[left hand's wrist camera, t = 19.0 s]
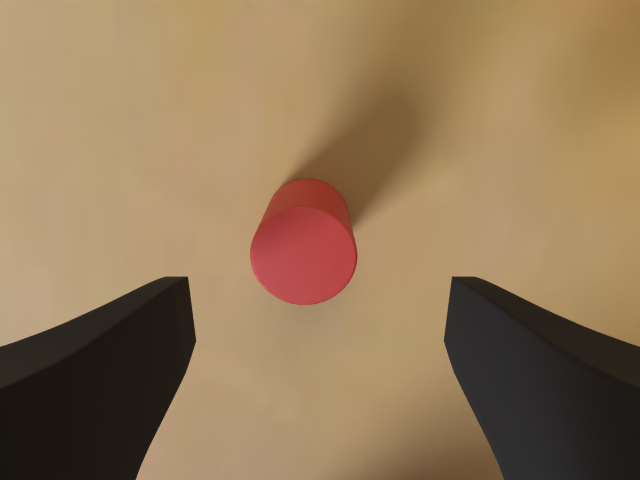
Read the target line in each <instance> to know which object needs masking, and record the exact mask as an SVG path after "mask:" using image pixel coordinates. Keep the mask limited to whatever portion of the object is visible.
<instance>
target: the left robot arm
mask: <svg viewBox="0 0 640 480" xmlns="http://www.w3.org/2000/svg"><path fill="white" fill-rule="evenodd" d="M195 343H196V336H195V328H194V320H193V313H192V305H191V297H190V289H189V281H188V277H163V278H160V279H157V280H155V281H153V282H150V283H148V284H146V285H144V286H142V287H140V288H138V289H136V290H134V291H132V292H130V293H127V294H125V295H123V296H121V297H119V298H117V299H115V300H113V301H111V302H109V303H107V304H105V305H103V306H101V307H99V308H97V309H94V310H92V311H90V312H88V313H86V314H83V315H81V316H79V317H77V318H75V319H72V320H70V321H68V322H66V323H64V324H61V325H59V326H56V327H54V328H51V329H49V330H46V331H44V332H41V333H38V334H36V335H33V336H30V337H28V338H25V339H22V340H19V341H17V342H14V343H11V344H8V345H5V346H1V347H0V480H136V477H137V474H138V472H139V469H140V466H141V464H142V462H143V459H144V457H145V455H146V453H147V450H148V448H149V446H150V444H151V442H152V440H153V438H154V436H155V434H156V432H157V430H158V428H159V426H160V424H161V422H162V420H163V418H164V416H165V414H166V412H167V410H168V408H169V406H170V404H171V402H172V400H173V398H174V396H175V394H176V392H177V390H178V388H179V386H180V384H181V382H182V379H183V377H184V375H185V373H186V371H187V368H188V365H189V362H190V359H191V356H192V353H193V349H194V346H195ZM444 343H445V346H446V349H447V353H448V356H449V359H450V362H451V365H452V368H453V371H454V373H455V375H456V377H457V380H458V382H459V384H460V386H461V388H462V390H463V392H464V394H465V396H466V398H467V400H468V402H469V404H470V406H471V408H472V410H473V412H474V414H475V416H476V418H477V420H478V422H479V424H480V426H481V428H482V430H483V432H484V434H485V436H486V438H487V440H488V442H489V444H490V446H491V448H492V451H493V453H494V455H495V457H496V459H497V462H498V464H499V466H500V469H501V472H502V474H503V477H504V480H640V347H639V346H636V345H632V344H630V343H627V342H624V341H621V340H618V339H616V338H613V337H610V336H607V335H605V334H602V333H599V332H597V331H594V330H592V329H589V328H586V327H584V326H582V325H579V324H577V323H575V322H572V321H570V320H568V319H565V318H563V317H561V316H559V315H556V314H554V313H552V312H550V311H548V310H546V309H543V308H541V307H539V306H537V305H535V304H533V303H531V302H529V301H527V300H525V299H523V298H521V297H519V296H517V295H515V294H513V293H511V292H509V291H507V290H505V289H503V288H501V287H499V286H496V285H494V284H492V283H490V282H488V281H485V280H483V279H480V278H477V277H452V281H451V289H450V297H449V305H448V313H447V320H446V328H445V336H444Z"/></svg>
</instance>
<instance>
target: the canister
mask: <svg viewBox="0 0 640 480" xmlns="http://www.w3.org/2000/svg"><path fill="white" fill-rule="evenodd" d="M250 258H251V265H252V268H253V271H254V274H255V276H256V277H257V279H258V281H259V282H260V283H261V285H262V286H263V287H264V288H265V289H266V290H267V291H268V292H269V293H271V294H272V295H273V296H275V297H277V298H278V299H281V300H283V301H285V302H289V303H293V304H299V305H310V304H317V303H320V302H324V301H326V300H328V299H330V298H332V297H334V296H335V295H337V294H338V293H339V292H341V291H342V290H343V289H344V288H345V287H346V285H347V284H348V283H349V281H350V280H351V278H352V276H353V274H354V271H355V268H356V264H357V248H356V243H355V239H354V235H353V230H352V226H351V222H350V218H349V214H348V209H347V206H346V204H345V201H344V199H343V198H342V196H341V195H340V194H339V193H338V191H337V190H335V189H334V188H333V187H332V186H330V185H329V184H327V183H325V182H322V181H319V180H315V179H299V180H295V181H292V182H290V183H288V184H286V185H284V186H283V187H281V188H280V189H279V190H278V191H277V192H276V193H275V194H274V196H273V197H272V199H271V201H270V203H269V205H268V207H267V209H266V212H265V214H264V216H263V218H262V220H261V222H260V225H259V227H258V229H257V231H256V233H255V235H254V238H253V241H252V244H251V250H250Z"/></svg>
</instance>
